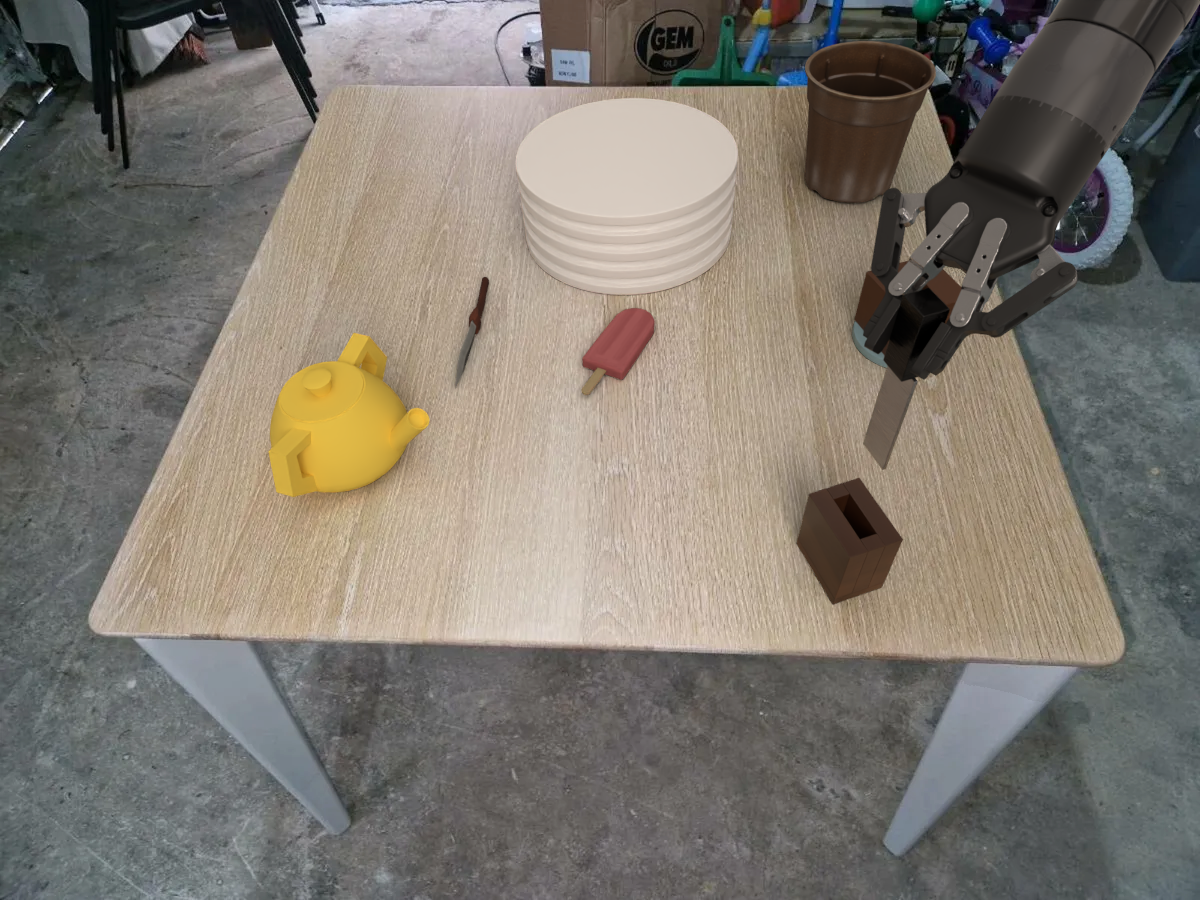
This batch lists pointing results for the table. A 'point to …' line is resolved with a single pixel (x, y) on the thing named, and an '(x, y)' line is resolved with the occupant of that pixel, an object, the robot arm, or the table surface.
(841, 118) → the plant pot
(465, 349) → the knife
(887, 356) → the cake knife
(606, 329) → the popsicle
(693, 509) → the table surface
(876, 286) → the slotted wooden stand
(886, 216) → the robot arm
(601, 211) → the plate stack
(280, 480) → the teapot
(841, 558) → the knife block
